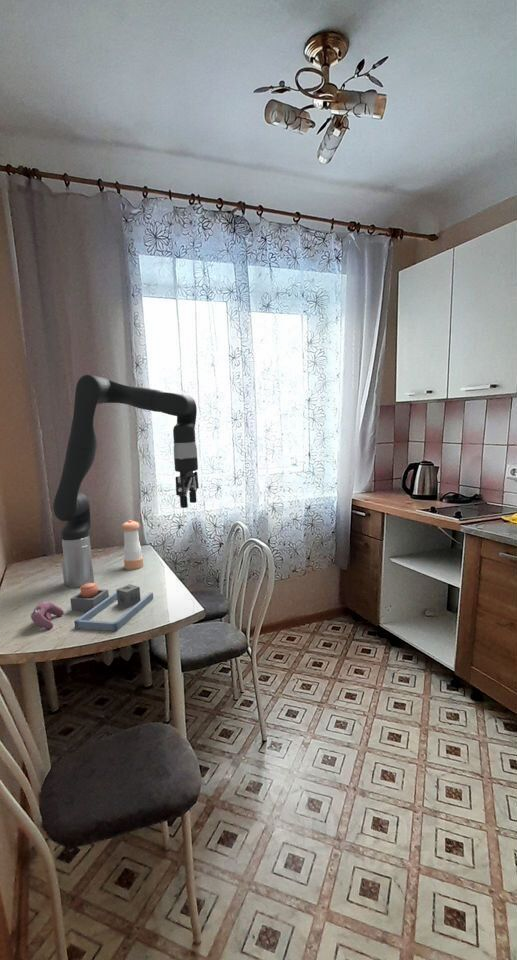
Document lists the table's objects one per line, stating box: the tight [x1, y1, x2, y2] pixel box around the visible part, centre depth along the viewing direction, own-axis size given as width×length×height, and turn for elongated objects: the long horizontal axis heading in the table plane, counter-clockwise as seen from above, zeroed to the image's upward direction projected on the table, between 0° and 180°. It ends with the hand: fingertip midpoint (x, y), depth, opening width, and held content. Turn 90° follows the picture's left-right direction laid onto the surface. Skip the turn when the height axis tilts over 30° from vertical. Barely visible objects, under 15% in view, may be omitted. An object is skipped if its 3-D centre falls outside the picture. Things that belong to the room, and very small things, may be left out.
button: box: [79, 582, 99, 598], centre depth 135 cm, size 5×5×3 cm
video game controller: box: [30, 600, 65, 630], centre depth 125 cm, size 10×5×7 cm, turn 5°
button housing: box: [70, 588, 110, 613], centre depth 135 cm, size 8×8×4 cm
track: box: [74, 590, 154, 632], centre depth 130 cm, size 13×22×2 cm, turn 167°
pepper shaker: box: [120, 519, 144, 571], centre depth 171 cm, size 7×7×19 cm
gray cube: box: [116, 584, 142, 608], centre depth 137 cm, size 5×5×5 cm
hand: (188, 505), depth 143 cm, fingers open, 8 cm apart
